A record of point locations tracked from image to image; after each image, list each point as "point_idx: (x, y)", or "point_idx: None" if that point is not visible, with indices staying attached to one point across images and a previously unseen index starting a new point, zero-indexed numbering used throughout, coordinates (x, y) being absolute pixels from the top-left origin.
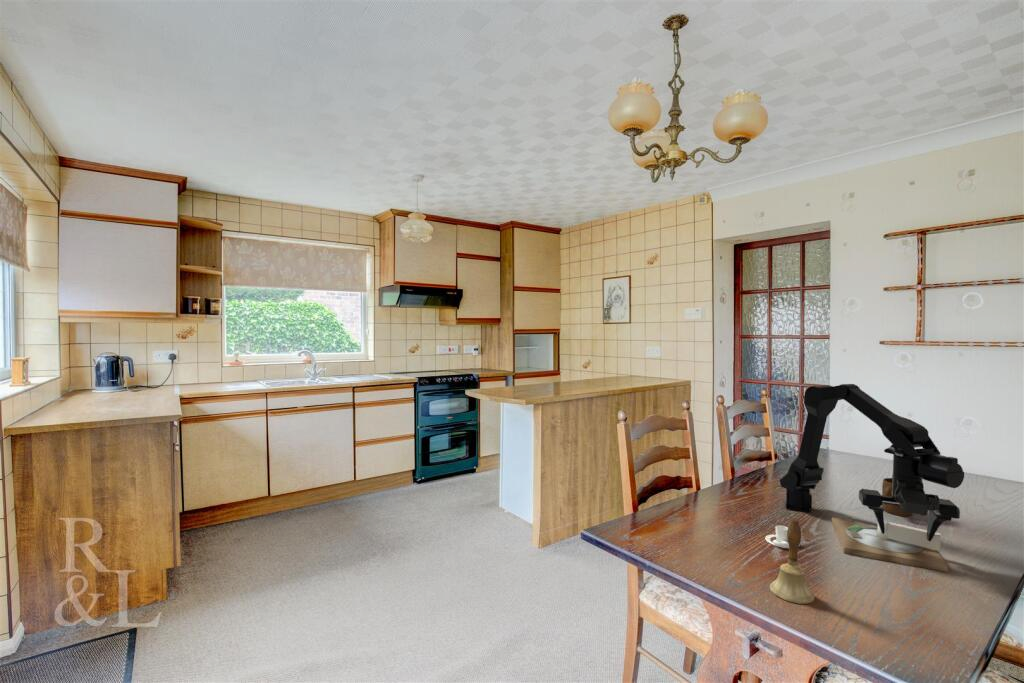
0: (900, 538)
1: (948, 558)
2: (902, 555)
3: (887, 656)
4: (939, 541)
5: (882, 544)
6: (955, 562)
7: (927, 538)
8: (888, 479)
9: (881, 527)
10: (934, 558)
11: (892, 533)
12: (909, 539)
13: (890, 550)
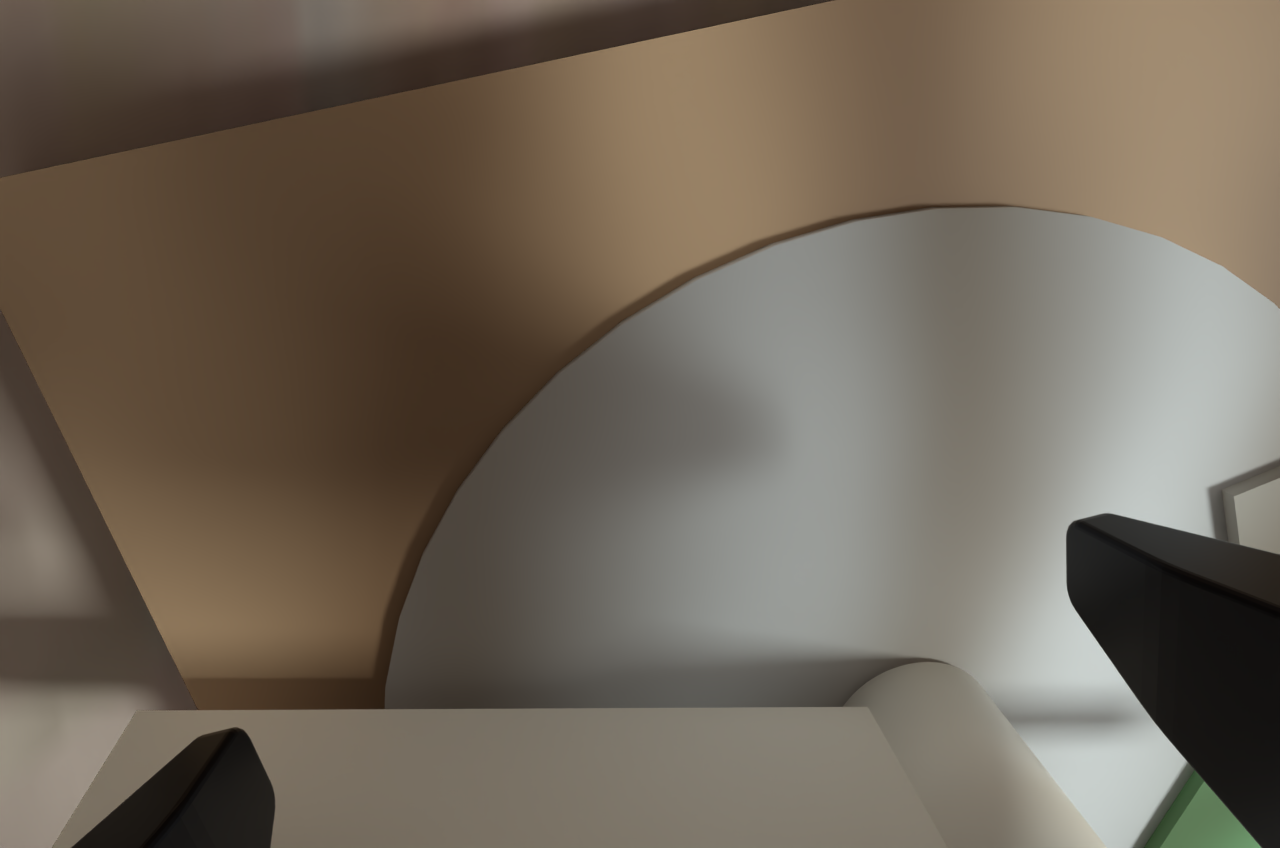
0: (713, 745)
1: (105, 751)
2: (684, 160)
3: None
4: None
5: (958, 441)
6: (3, 673)
7: (262, 806)
8: None
9: (1253, 553)
10: (196, 402)
11: (848, 786)
12: (585, 758)
13: (867, 235)
